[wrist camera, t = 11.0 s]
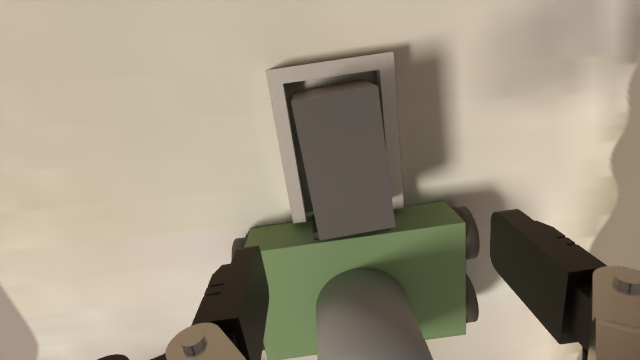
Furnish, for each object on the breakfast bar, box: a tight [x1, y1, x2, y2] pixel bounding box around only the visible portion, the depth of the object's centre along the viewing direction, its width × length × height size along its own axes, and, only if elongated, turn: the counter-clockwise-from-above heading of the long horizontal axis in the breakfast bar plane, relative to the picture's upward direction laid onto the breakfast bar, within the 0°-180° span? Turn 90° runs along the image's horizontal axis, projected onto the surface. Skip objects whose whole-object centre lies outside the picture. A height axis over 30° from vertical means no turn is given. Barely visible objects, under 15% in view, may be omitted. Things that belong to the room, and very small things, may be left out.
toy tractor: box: [232, 52, 479, 360], centre depth 24 cm, size 22×18×11 cm
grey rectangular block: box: [291, 80, 395, 241], centre depth 25 cm, size 9×5×6 cm, turn 10°
